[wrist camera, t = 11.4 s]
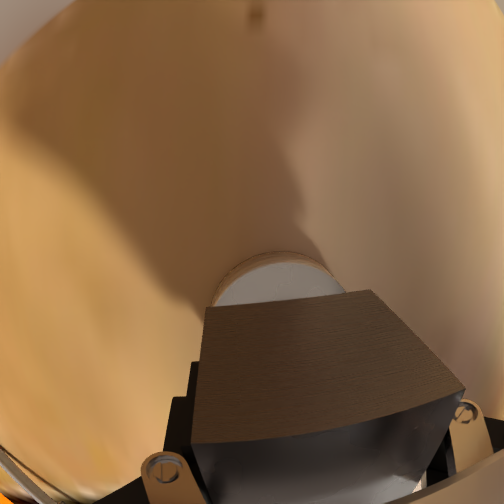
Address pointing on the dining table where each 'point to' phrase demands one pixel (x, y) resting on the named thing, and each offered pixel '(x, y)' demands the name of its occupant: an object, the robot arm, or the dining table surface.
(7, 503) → the orange juice
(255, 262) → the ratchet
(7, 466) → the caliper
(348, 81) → the dining table surface
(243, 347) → the grey stone cube
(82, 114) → the dining table surface
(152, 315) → the dining table surface
